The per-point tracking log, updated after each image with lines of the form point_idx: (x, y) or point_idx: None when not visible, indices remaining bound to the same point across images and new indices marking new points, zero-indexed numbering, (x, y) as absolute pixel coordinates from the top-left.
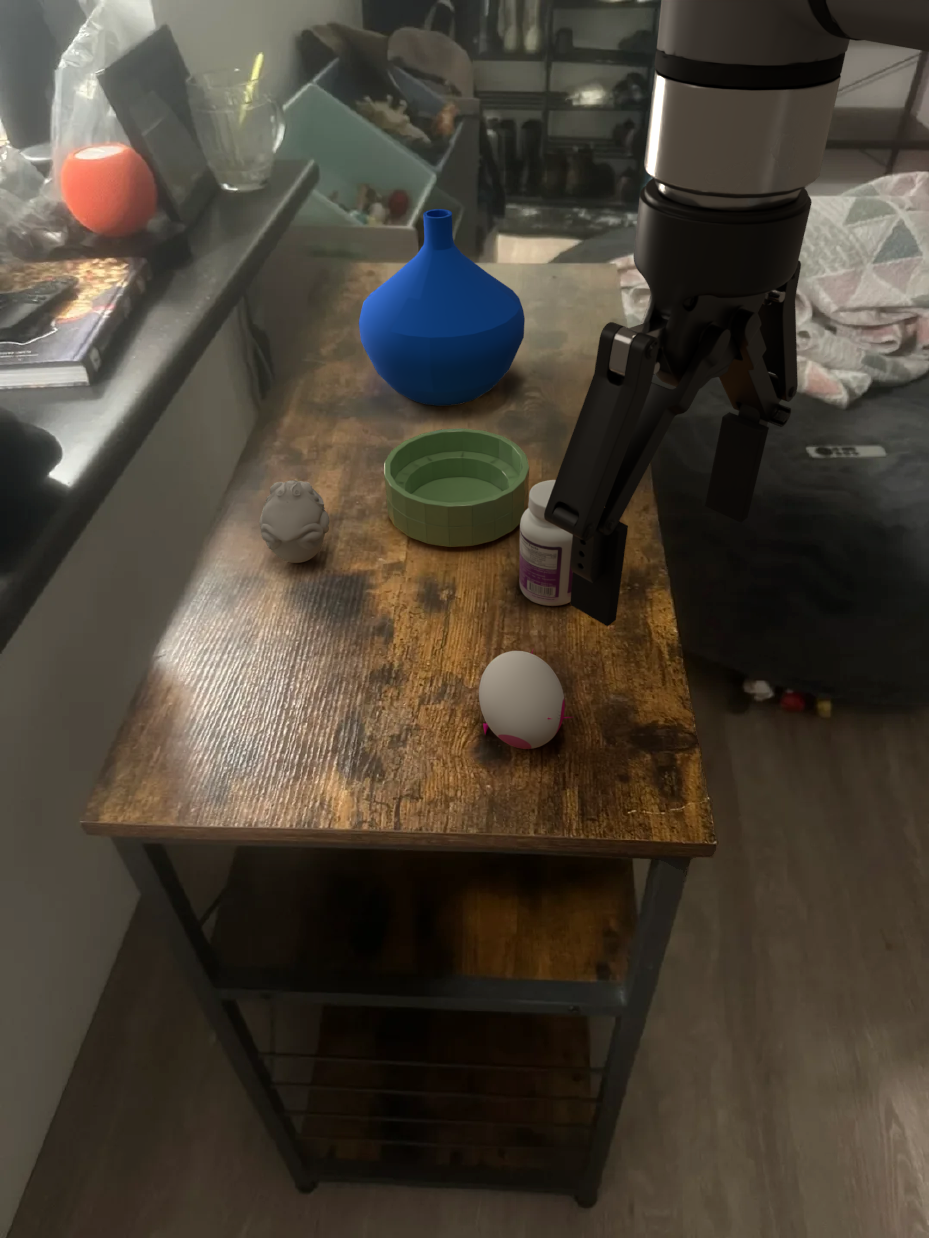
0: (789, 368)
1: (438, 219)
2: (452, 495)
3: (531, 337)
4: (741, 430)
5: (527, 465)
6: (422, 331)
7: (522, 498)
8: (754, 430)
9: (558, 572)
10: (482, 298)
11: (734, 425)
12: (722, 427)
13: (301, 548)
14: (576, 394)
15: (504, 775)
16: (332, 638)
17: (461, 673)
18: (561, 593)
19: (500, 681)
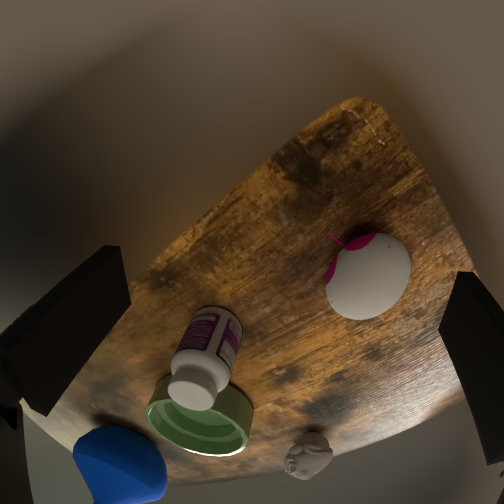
0: None
1: None
2: (199, 411)
3: (69, 419)
4: (33, 378)
5: (154, 402)
6: (141, 484)
7: None
8: (15, 364)
9: (223, 336)
10: (96, 474)
11: (38, 393)
12: (55, 399)
13: (321, 442)
14: (73, 388)
15: (409, 240)
16: (362, 391)
17: (341, 322)
18: (226, 319)
19: (391, 301)
